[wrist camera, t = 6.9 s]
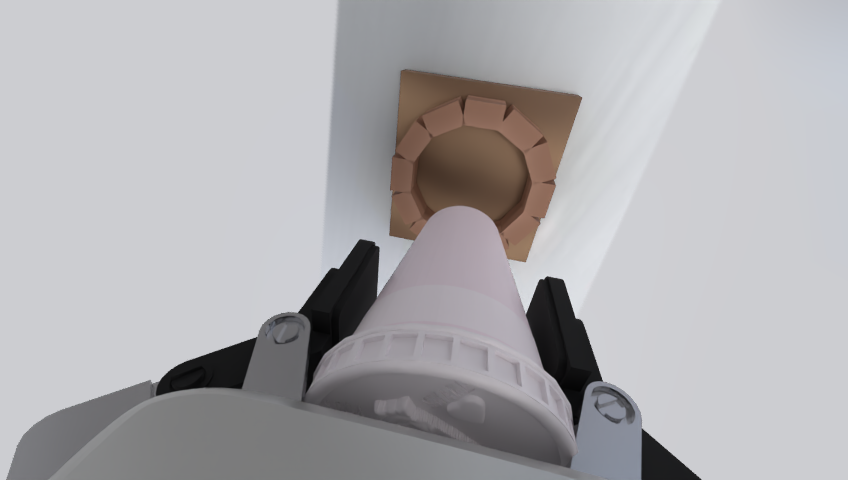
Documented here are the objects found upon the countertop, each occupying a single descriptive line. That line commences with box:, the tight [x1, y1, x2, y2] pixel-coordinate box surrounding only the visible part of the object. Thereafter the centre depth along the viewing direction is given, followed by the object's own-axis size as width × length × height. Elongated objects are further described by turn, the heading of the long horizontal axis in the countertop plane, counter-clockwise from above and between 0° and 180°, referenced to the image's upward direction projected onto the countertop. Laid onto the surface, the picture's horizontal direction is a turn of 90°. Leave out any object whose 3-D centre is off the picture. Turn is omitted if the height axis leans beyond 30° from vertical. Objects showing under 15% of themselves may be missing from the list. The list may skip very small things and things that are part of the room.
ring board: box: [389, 70, 582, 262], centre depth 23 cm, size 12×11×3 cm
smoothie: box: [304, 206, 578, 467], centre depth 10 cm, size 6×6×14 cm
